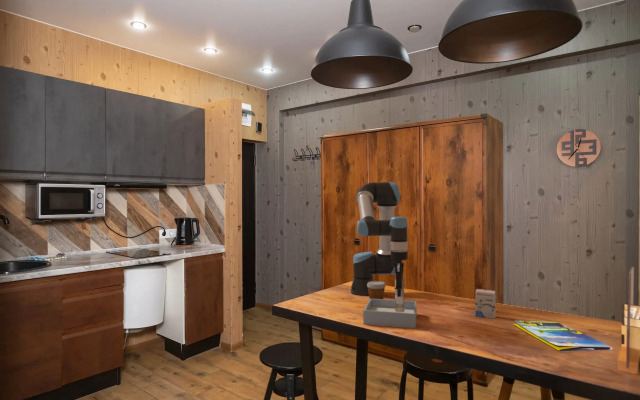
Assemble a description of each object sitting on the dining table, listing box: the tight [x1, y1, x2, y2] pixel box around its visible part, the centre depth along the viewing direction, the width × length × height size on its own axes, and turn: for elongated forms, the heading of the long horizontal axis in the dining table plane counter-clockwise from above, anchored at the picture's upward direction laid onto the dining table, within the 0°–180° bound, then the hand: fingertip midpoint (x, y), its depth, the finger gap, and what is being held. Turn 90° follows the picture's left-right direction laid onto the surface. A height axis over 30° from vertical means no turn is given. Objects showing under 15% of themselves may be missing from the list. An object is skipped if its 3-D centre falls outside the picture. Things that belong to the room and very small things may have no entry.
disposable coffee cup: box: [367, 280, 386, 299], centre depth 194 cm, size 10×10×12 cm
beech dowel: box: [394, 278, 405, 312], centre depth 172 cm, size 4×4×14 cm
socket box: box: [362, 298, 418, 329], centre depth 174 cm, size 21×22×6 cm
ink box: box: [474, 288, 497, 320], centre depth 176 cm, size 9×5×12 cm, turn 62°
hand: (399, 302), depth 172 cm, fingers closed on beech dowel, 4 cm apart
